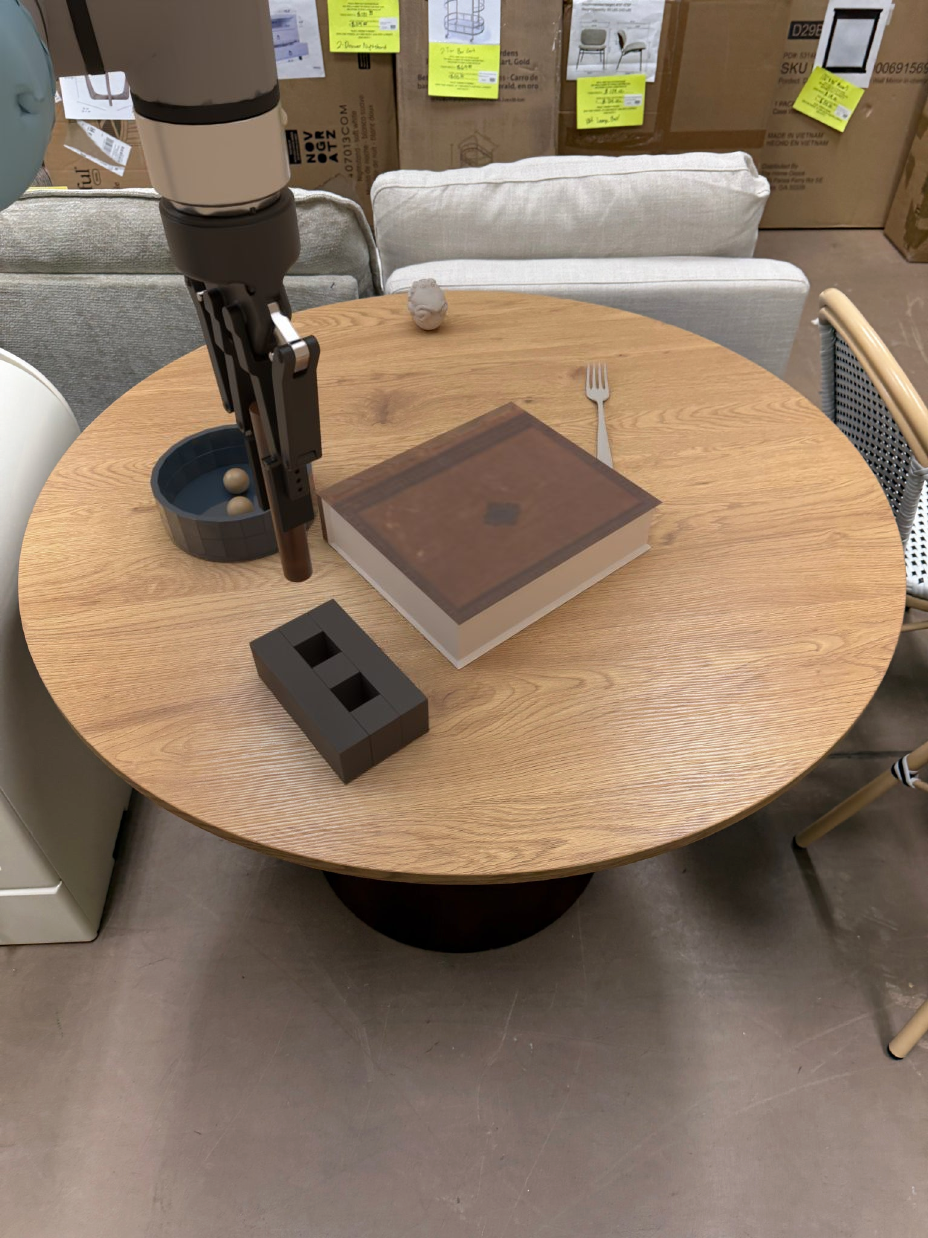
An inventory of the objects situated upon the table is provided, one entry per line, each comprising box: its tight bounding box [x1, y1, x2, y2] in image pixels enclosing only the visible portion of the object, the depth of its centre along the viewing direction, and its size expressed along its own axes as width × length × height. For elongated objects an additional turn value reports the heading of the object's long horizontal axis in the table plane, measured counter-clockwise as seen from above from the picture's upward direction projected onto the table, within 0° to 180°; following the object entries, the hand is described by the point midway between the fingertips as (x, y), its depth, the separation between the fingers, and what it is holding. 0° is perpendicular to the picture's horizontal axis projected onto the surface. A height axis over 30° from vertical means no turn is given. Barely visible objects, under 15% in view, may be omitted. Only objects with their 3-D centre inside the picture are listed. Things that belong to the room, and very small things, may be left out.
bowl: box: [149, 423, 319, 563], centre depth 93 cm, size 18×18×6 cm
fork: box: [585, 361, 614, 469], centre depth 107 cm, size 3×24×2 cm, turn 177°
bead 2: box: [227, 496, 254, 516], centre depth 92 cm, size 3×3×3 cm
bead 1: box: [223, 468, 250, 494], centre depth 95 cm, size 3×3×3 cm
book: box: [316, 401, 664, 670], centre depth 89 cm, size 24×28×7 cm
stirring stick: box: [249, 400, 314, 583], centre depth 62 cm, size 2×2×16 cm
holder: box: [249, 598, 430, 785], centre depth 75 cm, size 9×15×5 cm, turn 39°
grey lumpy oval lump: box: [406, 277, 449, 331], centre depth 122 cm, size 6×7×7 cm
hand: (286, 512), depth 63 cm, fingers closed on stirring stick, 2 cm apart
